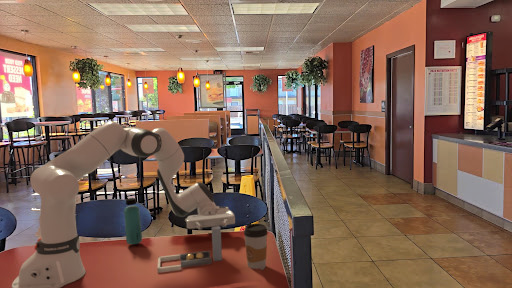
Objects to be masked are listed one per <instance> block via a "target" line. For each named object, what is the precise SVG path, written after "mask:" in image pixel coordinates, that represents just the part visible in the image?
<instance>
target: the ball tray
mask: <svg viewBox="0 0 512 288" xmlns="http://www.w3.org/2000/svg"><path fill="white" fill-rule="evenodd" d="M180 254H181V253H180ZM180 254H173V255H171V254H170V255H164V256H158V257H157V273H159V274H160V273H167V272H168V273H169V272H175V271H181V270H182V268H181V264H177V265H170V266H169V265H167V266H161V265H162V264H161V263H162V262H169V261H176V260H180Z"/></svg>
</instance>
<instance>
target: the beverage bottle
mask: <svg viewBox="0 0 512 288" xmlns="http://www.w3.org/2000/svg"><path fill="white" fill-rule="evenodd" d="M136 204H137V200H136V198H135V197H130V198H126V199H125V205H126V207H125V208H124V209H123V213H124V227H125V241H126V243H127V244H128V245H137V244H140V243H141V242H142V241H143V236H142V235H143V233H142V225H141V224H142V223H141V221H142V220H141V212H140V207H139V206H137V205H136Z"/></svg>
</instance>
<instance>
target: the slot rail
mask: <svg viewBox="0 0 512 288" xmlns="http://www.w3.org/2000/svg"><path fill="white" fill-rule="evenodd" d="M198 253H202V254H203V255H204V258H201V259H196V255H197V254H198ZM188 254H192V255H193V256H194V259H193V260H186V256H187V255H188ZM212 259H213V257H211V251H210V250H205V251H196V252H188V253H180V259H179V260H180V265H181V269H182V268H188V267H197V266H205V265H211V264H212V263H213V260H212Z"/></svg>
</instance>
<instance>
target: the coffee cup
mask: <svg viewBox="0 0 512 288" xmlns="http://www.w3.org/2000/svg"><path fill="white" fill-rule="evenodd" d="M243 234H244V241H245V242H244V243H245V254H246V260H247V266H248V268H250V269H255V270H259V269H260V271H263V270H265V268H266V265H267V263H266V262H267V247H268V244H267V240H268V239H267V237H268V229H267V226H266V225H265V224H263V223H251V224H247V225H245V229H244V230H243Z"/></svg>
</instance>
